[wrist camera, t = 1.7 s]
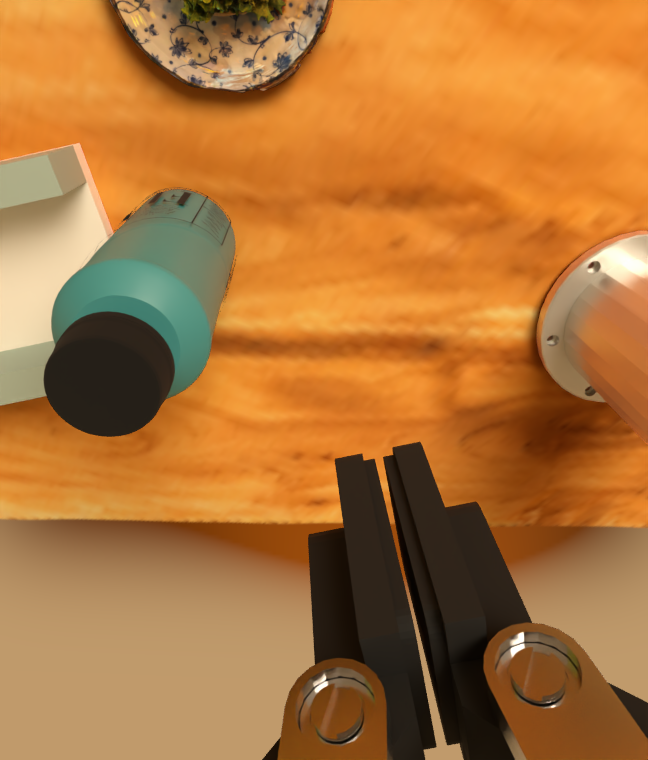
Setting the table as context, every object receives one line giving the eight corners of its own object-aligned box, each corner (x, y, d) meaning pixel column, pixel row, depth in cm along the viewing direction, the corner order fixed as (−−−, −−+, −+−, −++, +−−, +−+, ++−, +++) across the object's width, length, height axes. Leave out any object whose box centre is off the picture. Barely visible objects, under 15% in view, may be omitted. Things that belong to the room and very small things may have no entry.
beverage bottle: (209, 162, 35) (131, 260, 17) (258, 262, 38) (234, 432, 20) (114, 207, 35) (-54, 344, 18) (169, 301, 38) (72, 496, 21)
